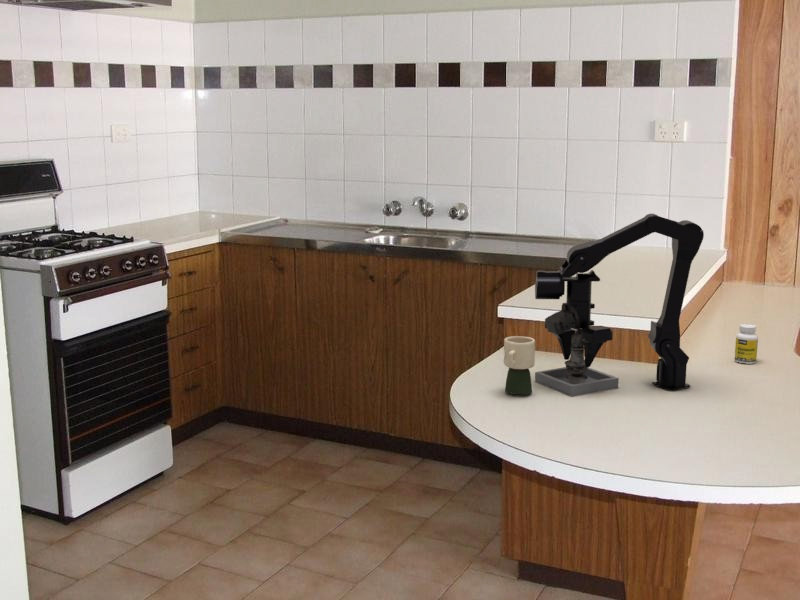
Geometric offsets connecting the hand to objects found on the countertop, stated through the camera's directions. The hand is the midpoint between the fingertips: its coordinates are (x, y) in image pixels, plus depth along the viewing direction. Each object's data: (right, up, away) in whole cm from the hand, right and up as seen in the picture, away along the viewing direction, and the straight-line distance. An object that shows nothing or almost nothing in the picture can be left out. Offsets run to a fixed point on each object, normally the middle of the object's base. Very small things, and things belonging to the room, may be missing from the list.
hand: (577, 363), depth 223 cm
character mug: (-15, -7, -5) cm, 17 cm away
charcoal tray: (0, -5, +1) cm, 5 cm away
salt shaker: (0, -4, +1) cm, 4 cm away
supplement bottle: (+48, -1, +21) cm, 52 cm away
